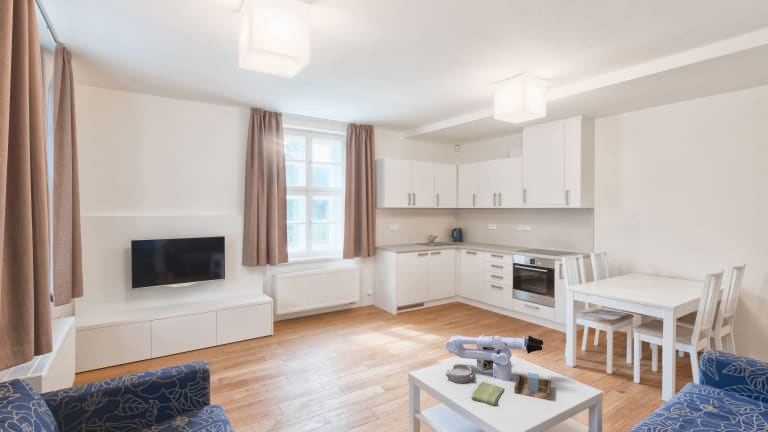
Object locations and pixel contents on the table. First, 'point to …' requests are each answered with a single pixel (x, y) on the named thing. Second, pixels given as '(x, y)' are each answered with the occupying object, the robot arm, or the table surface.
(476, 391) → the washcloth
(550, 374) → the table surface
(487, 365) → the coffee box
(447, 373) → the dish
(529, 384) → the slate block
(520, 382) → the walnut crate
